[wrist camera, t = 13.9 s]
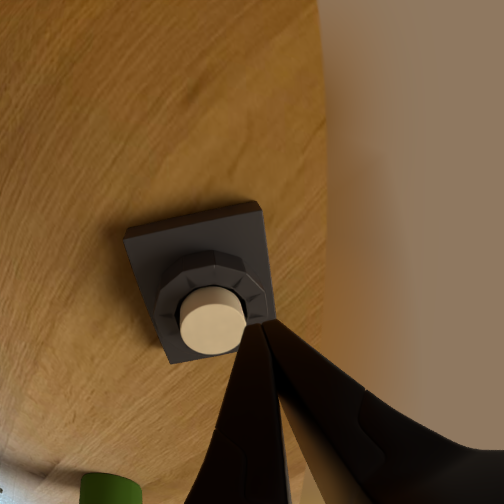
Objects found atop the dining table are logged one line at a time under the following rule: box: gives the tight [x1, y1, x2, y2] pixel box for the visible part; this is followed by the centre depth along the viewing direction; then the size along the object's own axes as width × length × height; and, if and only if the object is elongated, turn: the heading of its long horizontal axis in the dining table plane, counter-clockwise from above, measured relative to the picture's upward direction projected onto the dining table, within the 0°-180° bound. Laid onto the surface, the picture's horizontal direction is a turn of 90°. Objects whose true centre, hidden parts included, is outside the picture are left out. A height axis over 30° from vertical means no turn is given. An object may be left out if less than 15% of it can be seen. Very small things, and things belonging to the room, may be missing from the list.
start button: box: [180, 286, 246, 354], centre depth 18 cm, size 4×4×2 cm
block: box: [123, 201, 276, 364], centre depth 20 cm, size 8×10×4 cm
